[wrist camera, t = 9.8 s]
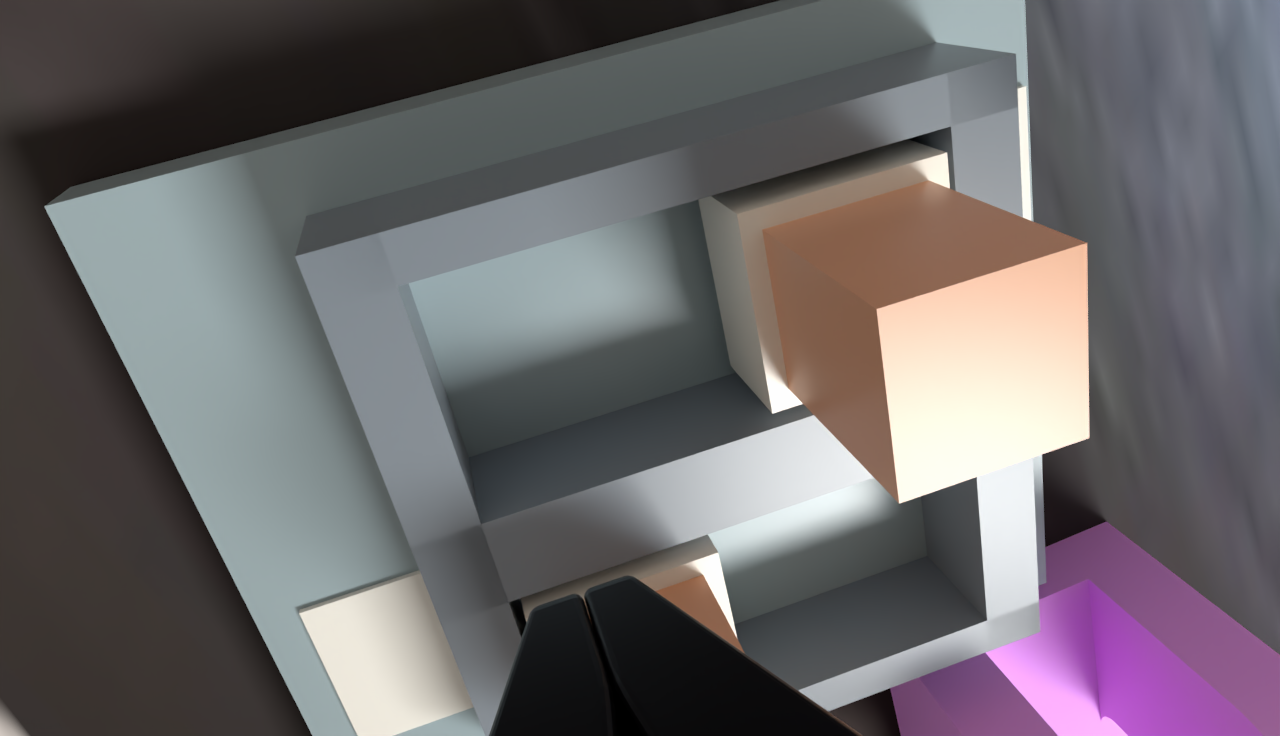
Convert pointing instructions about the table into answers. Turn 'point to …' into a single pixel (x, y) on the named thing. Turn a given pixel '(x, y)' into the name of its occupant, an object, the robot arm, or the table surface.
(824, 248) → the tab
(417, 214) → the switch plate
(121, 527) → the table surface
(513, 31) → the table surface
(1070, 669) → the bracket
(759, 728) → the robot arm
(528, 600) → the tab
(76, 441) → the table surface
